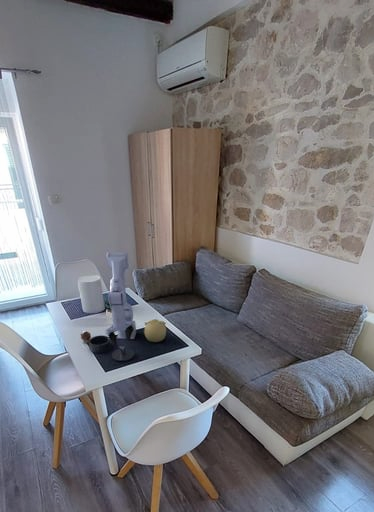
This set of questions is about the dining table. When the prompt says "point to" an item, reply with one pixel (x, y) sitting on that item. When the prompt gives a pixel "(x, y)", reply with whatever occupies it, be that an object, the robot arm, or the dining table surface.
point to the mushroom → (85, 336)
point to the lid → (122, 354)
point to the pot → (100, 344)
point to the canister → (91, 293)
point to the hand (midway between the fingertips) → (121, 343)
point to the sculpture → (155, 330)
